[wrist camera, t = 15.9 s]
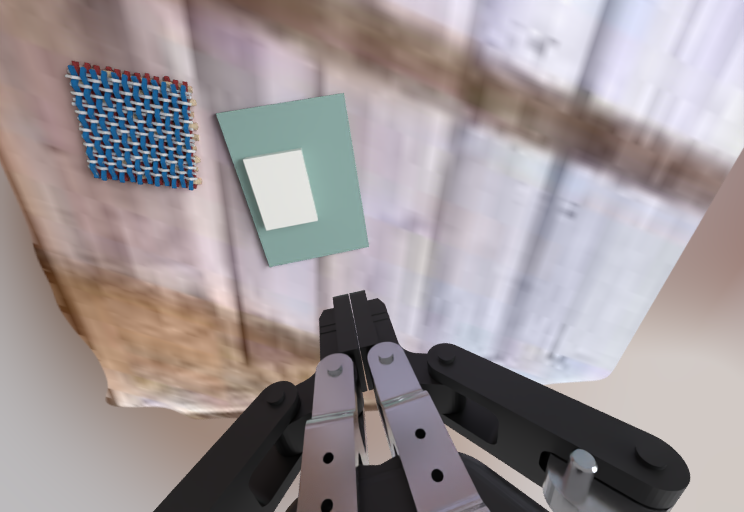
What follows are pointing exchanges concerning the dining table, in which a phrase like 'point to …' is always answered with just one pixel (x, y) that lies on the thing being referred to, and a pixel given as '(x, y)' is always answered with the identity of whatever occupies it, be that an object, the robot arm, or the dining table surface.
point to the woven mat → (135, 126)
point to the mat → (324, 167)
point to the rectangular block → (281, 188)
